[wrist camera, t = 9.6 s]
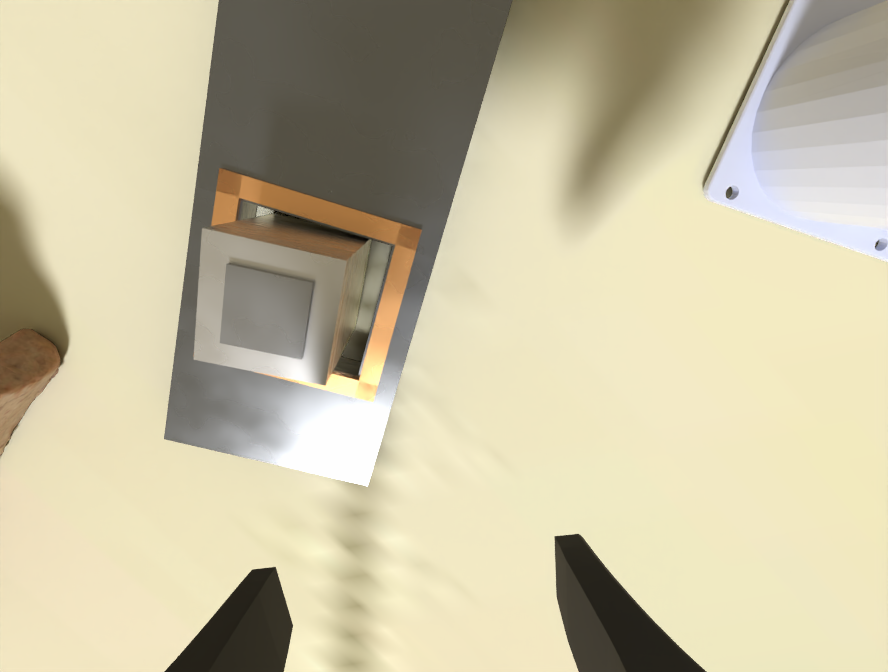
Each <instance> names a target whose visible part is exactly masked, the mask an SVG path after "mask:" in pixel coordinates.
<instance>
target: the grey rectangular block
mask: <svg viewBox="0 0 888 672" xmlns="http://www.w3.org/2000/svg"><path fill="white" fill-rule="evenodd" d="M370 246H371V239H368V238H365V237H361V236H358V235H355V234H351V233H348V232H345V231H341V230H338V229H335V228H331V227H328V226H325V225H321V224H317V223H312V222H308V221H304V220H299V219H295V218H291V217H287V216H282V215H278V214H274V213H273V214H268V215H263V216H258V217H253V218H248V219H244V220H239V221H234V222H229V223H224V224H219V225H214V226H209V227H204V228H202V236H201V251H200V267H199V282H198V297H197V313H196V328H195V343H194V359H193V360H198V361H203V362H208V363H213V364H218V365H223V366H228V367H233V368H238V369H243V370H248V371H253V372H258V373H263V374H268V375H273V376H278V377H283V378H289V379H294V380H299V381H304V382H309V383H314V384H319V385H324V386H326V384H327V382H328V380H329V378H330V376H331V374H332V372H333V370H334V368H335V366H336V364H337V362H338V360H339V359H340V357H341V355H342V353H343V351H344V349H345V347H346V345H347V343H348V341H349V339H350V337H351V335H352V333H353V331H354V329H355V327H356V322H357V317H358V311H359V306H360V300H361V295H362V289H363V284H364V278H365V273H366V268H367V262H368V257H369V251H370Z"/></svg>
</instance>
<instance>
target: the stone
mask: <svg viewBox="0 0 888 672" xmlns="http://www.w3.org/2000/svg"><path fill="white" fill-rule="evenodd" d="M60 364H61V362H60V356H59V353H58V351H57V348H56V346H55V345H54V344H53V343H52V342H51V341H49V340H48V339H46V338H44V337H42V336H41V335H39V334H38V333H36V332H35V331H34V330H33V329H21V330H19V331H18V332H16V333H14V334H13V335H11V336H10V337H8V338H6V339H5V340H3V341H1V342H0V456H1V454H2V453H3V452H4V450H3V449H4V447H5V445H6V443H7V441H9V440H10V436H11V435H12V432H13V429H14V427H15V426H16V425H18V423H19V422H20V420H21V419H22V417H23V416H24V414H25V411H26V409H27V408H28V407H29V405H30V404H31V403H32V401H33V400H35V398H36V396H38V395H39V394H40V393H41V392H42V391H43V390H44V388H45V387H46V385H47V384H48V383H49V381H50V380H51V377H52V378H53V377H54V376H55V375H56V374H57V373H58V370H59V369H58V367H59V365H60Z"/></svg>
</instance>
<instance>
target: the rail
mask: <svg viewBox="0 0 888 672" xmlns="http://www.w3.org/2000/svg"><path fill="white" fill-rule="evenodd" d="M511 3H512V0H219V4H218V12H217V20H216V28H215V36H214V44H213V52H212V60H211V68H210V76H209V84H208V92H207V100H206V108H205V116H204V124H203V132H202V140H201V148H200V156H199V164H198V172H197V180H196V188H195V196H194V204H193V212H192V220H191V228H190V236H189V244H188V252H187V260H186V268H185V276H184V284H183V292H182V300H181V308H180V316H179V324H178V332H177V340H176V348H175V356H174V364H173V372H172V380H171V388H170V396H169V404H168V412H167V420H166V428H165V436H164V439H166V440H171V441H175V442H179V443H184V444H188V445H192V446H197V447H201V448H205V449H210V450H214V451H218V452H223V453H227V454H231V455H236V456H240V457H244V458H249V459H253V460H257V461H262V462H266V463H270V464H275V465H279V466H283V467H288V468H292V469H296V470H301V471H305V472H309V473H313V474H318V475H322V476H326V477H331V478H335V479H339V480H344V481H348V482H352V483H357V484H361V485H365V486H368V484H369V480H370V477H371V474H372V470H373V467H374V463H375V460H376V457H377V453H378V450H379V447H380V443H381V440H382V437H383V433H384V430H385V427H386V423H387V420H388V416H389V413H390V410H391V406H392V403H393V400H394V396H395V393H396V390H397V386H398V383H399V380H400V376H401V373H402V369H403V366H404V363H405V359H406V356H407V353H408V349H409V346H410V343H411V339H412V336H413V332H414V329H415V326H416V322H417V319H418V316H419V312H420V309H421V306H422V302H423V299H424V296H425V292H426V289H427V285H428V282H429V279H430V275H431V272H432V269H433V265H434V262H435V259H436V255H437V252H438V249H439V245H440V242H441V238H442V235H443V232H444V228H445V225H446V222H447V218H448V215H449V212H450V208H451V205H452V202H453V198H454V195H455V191H456V188H457V185H458V181H459V178H460V175H461V171H462V168H463V165H464V161H465V158H466V155H467V151H468V148H469V144H470V141H471V138H472V134H473V131H474V128H475V124H476V121H477V118H478V114H479V111H480V108H481V104H482V101H483V97H484V94H485V91H486V87H487V84H488V81H489V77H490V74H491V71H492V67H493V64H494V60H495V57H496V54H497V50H498V47H499V44H500V40H501V37H502V34H503V30H504V27H505V24H506V20H507V17H508V13H509V10H510V7H511ZM257 205H258V206H261V207H265V208H268V209H271V210H275V211H278V212H281V213H285V214H288V215H291V216H295V217H298V218H301V219H305V220H308V221H311V222H315V223H318V224H321V225H325V226H328V227H331V228H335V229H338V230H341V231H345V232H348V233H351V234H355V235H358V236H361V237H365V238H368V239H371V240H375V241H378V242H381V243H385V244H388V245H391V246H392V250H391V253H390V257H389V261H388V265H387V269H386V272H385V276H384V280H383V284H382V287H381V291H380V295H379V299H378V302H377V306H376V310H375V314H374V317H373V321H372V325H371V329H370V333H369V336H368V340H367V344H366V348H365V351H364V355H363V359H362V362H360V361H356V360H352V359H348V358H345V357H340V359H339V360H338V362H337V364H336V366H335V368H334V370H333V372H332V374H331V376H330V378H329V380H328V382H327V384H326V386H324V385H319V384H314V383H309V382H304V381H299V380H294V379H289V378H283V377H278V376H273V375H268V374H263V373H258V372H253V371H248V370H243V369H238V368H233V367H228V366H223V365H218V364H213V363H208V362H203V361H198V360H193V359H194V343H195V328H196V313H197V297H198V282H199V267H200V251H201V236H202V228H204V227H209V226H214V225H219V224H224V223H229V222H234V221H239V220H244V219H248V218H253V217H255V216H256V210H257Z"/></svg>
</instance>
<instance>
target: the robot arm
mask: <svg viewBox="0 0 888 672" xmlns="http://www.w3.org/2000/svg"><path fill="white" fill-rule="evenodd" d="M729 187H732V190H733V192H732V195H731V196H730V198H726V190H727V189H728V188H729ZM703 192H704V196H705V198H706V199H707V200H709V201H711V202H714V203H717V204H719V205H722V206H725V207H728V208H731V209H734V210H737V211H740V212H743V213H746V214H749V215H752V216H754V217H757V218H760V219H763V220H766V221H769V222H772V223H775V224H778V225H781V226H784V227H787V228H789V229H792V230H795V231H798V232H801V233H804V234H807V235H810V236H813V237H816V238H819V239H822V240H824V241H827V242H830V243H833V244H836V245H839V246H842V247H845V248H848V249H851V250H854V251H857V252H859V253H862V254H865V255H868V256H871V257H874V258H877V259H880V260H883V261H886V262H888V0H790V1H789V3H788V5H787V7H786V10H785V12H784V14H783V16H782V18H781V20H780V23H779V25H778V27H777V29H776V31H775V33H774V36H773V38H772V40H771V42H770V44H769V46H768V49H767V51H766V53H765V55H764V57H763V59H762V62H761V64H760V66H759V68H758V70H757V72H756V75H755V77H754V79H753V81H752V83H751V85H750V88H749V90H748V92H747V94H746V96H745V99H744V101H743V103H742V105H741V107H740V109H739V112H738V114H737V116H736V118H735V120H734V122H733V125H732V127H731V129H730V131H729V133H728V135H727V138H726V140H725V142H724V144H723V146H722V148H721V151H720V153H719V155H718V157H717V159H716V161H715V164H714V166H713V168H712V170H711V172H710V174H709V177H708V179H707V181H706V183H705V186H704V189H703ZM878 240H879V243H878V245H877V246H876V248H875V244H876V242H877V241H878ZM555 561H556V590H557V600H558V604H559V608H560V612H561V616H562V620H563V624H564V628H565V631H566V635H567V639H568V642H569V645H570V648H571V651H572V654H573V657H574V659H575V662H576V665H577V668H578V671H579V672H706V671H705V670H704V669H703V668H702V667H701V666H699V665H698V664H697V663H696V662H695V661H694V660H693V659H692V658H691V657H690V656H689V655H688V654H687V653H685V652H684V651H683V650H682V649H681V648H680V647H679V646H678V645H677V644H676V643H675V642H674V641H673V640H672V639H671V638H670V637H669V636H668V635H667V634H666V633H665V632H664V631H663V630H662V629H661V628H660V627H659V626H658V625H657V624H656V623H655V622H654V621H653V620H652V619H651V618H650V616H649V615H648V614H647V613H646V612H645V611H644V610H643V609H642V608H641V607H640V606H639V605H638V604H637V602H636V601H635V600H634V599H633V598H632V597H631V596H630V595H629V594H628V592H627V591H626V590H625V589H624V588H623V587H622V586H621V585H620V583H619V582H618V581H617V580H616V579H615V578H614V576H613V575H612V574H611V573H610V572H609V570H608V569H607V568H606V567H605V565H604V564H603V563H602V562H601V561H600V559H599V558H598V557H597V555H596V554H595V553H594V552H593V550H592V549H591V548H590V546H589V545H588V544H587V542H586V541H585V540H584V538H583V537H582V536H580V535H579V534H573V535H564V536H555ZM292 628H293V624H292V621H291V618H290V614H289V611H288V607H287V604H286V601H285V597H284V594H283V590H282V587H281V584H280V580H279V577H278V574H277V570H276V567H272V568H263V569H254V570H252V571H251V572H250V573H249V574H248V575H247V576H246V578H245V579H244V580H243V581H242V582H241V583H240V585H239V586H238V587H237V588H236V589H235V590H234V592H233V593H232V594H231V595H230V596H229V598H228V599H227V600H226V601H225V602H224V604H223V605H222V606H221V607H220V608H219V610H218V611H217V612H216V613H215V614H214V616H213V617H212V618H211V619H210V620H209V622H208V623H207V624H206V625H205V626H204V627H203V629H202V630H201V631H200V632H199V633H198V634H197V636H196V637H195V638H194V639H193V640H192V641H191V643H190V644H189V645H188V646H187V647H186V648H185V650H184V651H183V652H182V653H181V654H180V655H179V656H178V657H177V659H176V660H175V661H174V662H173V663H172V664H171V665H170V666H169V667H168V668H167V669H166V671H165V672H284V668H285V663H286V658H287V654H288V649H289V644H290V638H291V633H292Z"/></svg>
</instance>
